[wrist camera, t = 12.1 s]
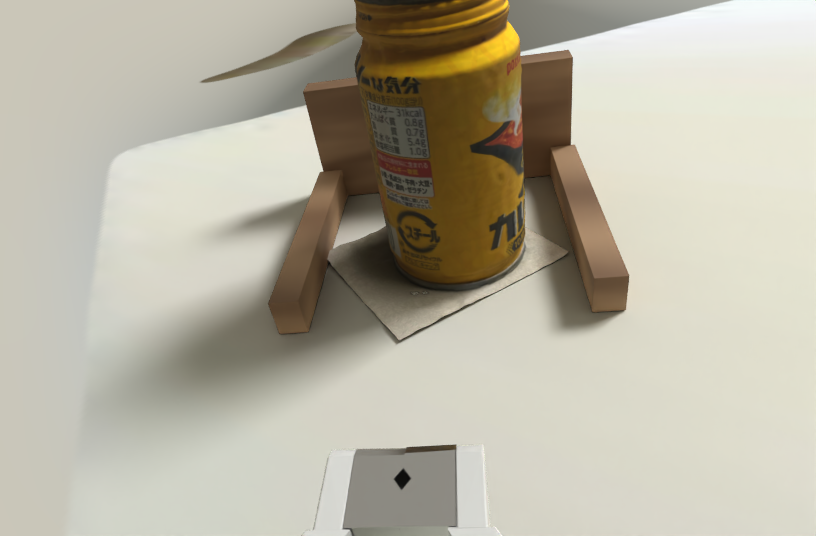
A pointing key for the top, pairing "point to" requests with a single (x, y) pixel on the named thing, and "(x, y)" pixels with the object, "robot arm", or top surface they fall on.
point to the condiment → (441, 160)
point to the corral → (355, 174)
